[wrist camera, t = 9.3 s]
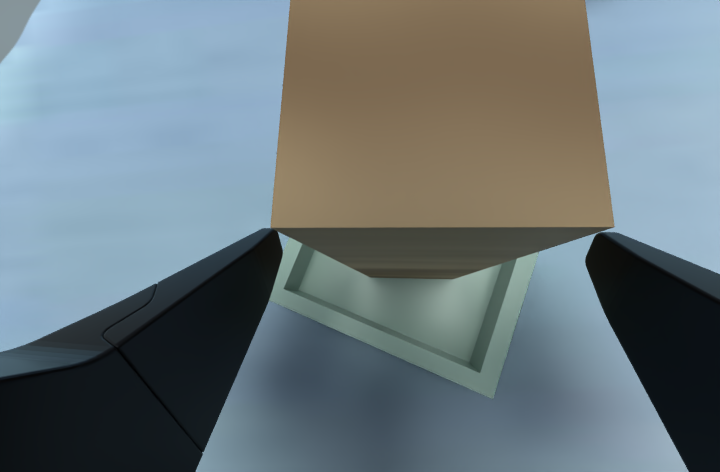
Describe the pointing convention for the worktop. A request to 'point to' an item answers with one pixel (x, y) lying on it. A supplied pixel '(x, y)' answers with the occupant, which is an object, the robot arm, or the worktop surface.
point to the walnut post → (438, 133)
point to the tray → (413, 312)
